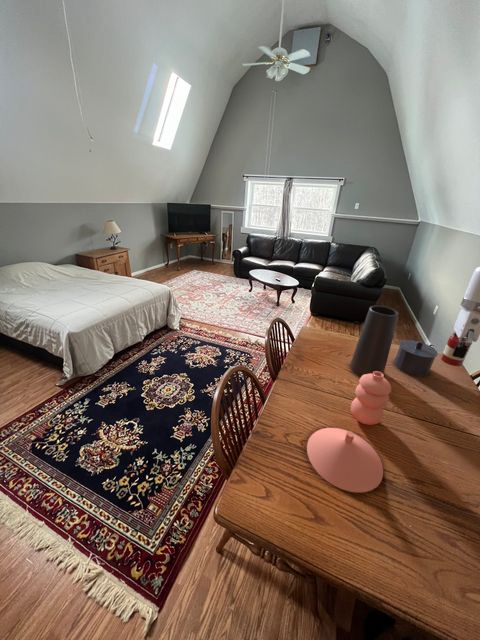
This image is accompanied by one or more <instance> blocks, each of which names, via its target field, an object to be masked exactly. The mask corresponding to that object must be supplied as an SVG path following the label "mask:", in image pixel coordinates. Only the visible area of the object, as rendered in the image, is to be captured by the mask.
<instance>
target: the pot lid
mask: <svg viewBox="0 0 480 640" xmlns="http://www.w3.org/2000/svg"><path fill="white" fill-rule="evenodd" d="M398 346H399V347H401V349H403V350H404V351H406V352H407V353H409V354H412V355H414V356H418V357H422V358H435V359H436V357H438V354H439V353H438V351H437V350H436V349H435V348H434V347H433V346H431V345H429V344H427V343H425V341H423V340H411V339H403V340H401V341H400V342H399V343H398Z"/></svg>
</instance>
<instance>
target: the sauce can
mask: <svg viewBox="0 0 480 640" xmlns="http://www.w3.org/2000/svg"><path fill="white" fill-rule="evenodd" d="M462 338H464V339H466V338H467V337H462ZM458 342H459V337H458V336H456V335H453V334H452V335H450V336H449V338H448V340H447V342H446V344H445V347H444V349H443V352H442V354H441V357H440V359H441V361H442V362H443V363H445V364H447V365H449V366H451V367H452V366H453V367H461V366H462V365H463V363H464V362H465V359H466V358H467V355H468V354H469V350H470V348H471V346H472V344H471V345H470V346H469V349H468V350H467V352H466V354H465V357H464V358H458V357H454V356H452V354H453V352H454V349H455V347H456V346H458ZM463 342H465V341H464V340H462V343H463Z"/></svg>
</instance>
